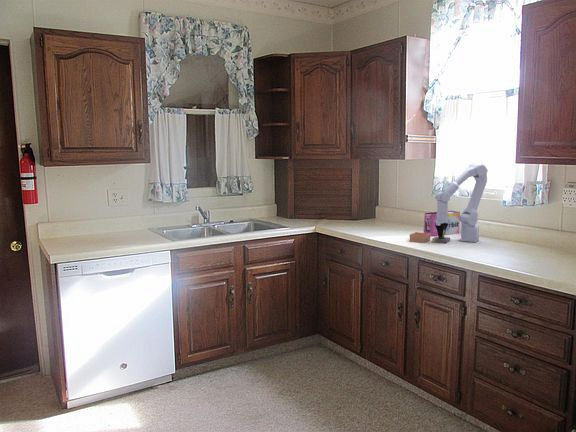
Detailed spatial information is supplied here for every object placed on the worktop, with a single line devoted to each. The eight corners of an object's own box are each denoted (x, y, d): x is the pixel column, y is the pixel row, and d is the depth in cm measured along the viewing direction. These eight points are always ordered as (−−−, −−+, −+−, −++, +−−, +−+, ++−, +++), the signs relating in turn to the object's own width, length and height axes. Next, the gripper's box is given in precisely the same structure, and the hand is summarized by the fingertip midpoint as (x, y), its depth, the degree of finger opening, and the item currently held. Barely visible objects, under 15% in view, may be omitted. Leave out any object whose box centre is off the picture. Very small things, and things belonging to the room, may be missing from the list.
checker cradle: (450, 241, 289) (450, 237, 289) (446, 243, 283) (446, 239, 282) (436, 239, 294) (436, 236, 293) (432, 242, 287) (432, 238, 287)
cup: (430, 240, 292) (430, 233, 292) (425, 242, 284) (425, 235, 284) (414, 238, 297) (415, 232, 297) (409, 241, 289) (409, 234, 289)
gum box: (430, 236, 304) (431, 214, 302) (421, 234, 311) (422, 213, 309) (459, 233, 315) (460, 211, 313) (450, 231, 322) (450, 210, 320)
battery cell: (444, 241, 289) (445, 228, 288) (443, 242, 286) (443, 229, 285) (439, 240, 291) (439, 227, 289) (437, 241, 288) (437, 228, 287)
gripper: (438, 210, 294) (437, 233, 296) (431, 213, 282) (430, 237, 284) (451, 211, 290) (450, 234, 292) (444, 214, 278) (443, 238, 280)
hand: (441, 236), depth 288 cm, fingers closed on battery cell, 3 cm apart
